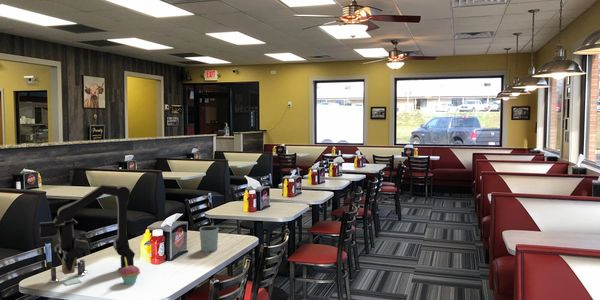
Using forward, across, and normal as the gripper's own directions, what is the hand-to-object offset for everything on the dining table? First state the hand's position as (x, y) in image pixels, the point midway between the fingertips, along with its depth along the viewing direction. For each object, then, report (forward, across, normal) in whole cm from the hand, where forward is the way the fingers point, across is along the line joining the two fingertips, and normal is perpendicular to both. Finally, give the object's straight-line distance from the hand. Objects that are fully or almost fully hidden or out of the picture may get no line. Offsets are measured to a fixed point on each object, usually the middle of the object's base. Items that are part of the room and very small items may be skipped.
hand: (68, 269), depth 208 cm
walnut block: (+1, 0, 0) cm, 1 cm away
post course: (+4, +10, -1) cm, 11 cm away
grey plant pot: (+5, -3, -70) cm, 70 cm away
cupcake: (+5, -23, -19) cm, 30 cm away
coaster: (+4, -5, 0) cm, 7 cm away
